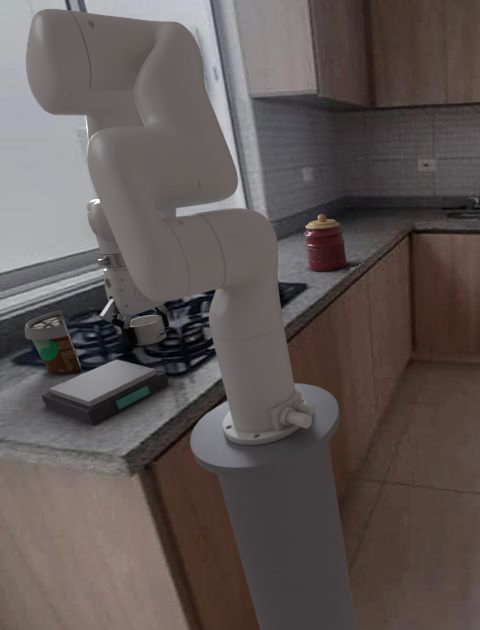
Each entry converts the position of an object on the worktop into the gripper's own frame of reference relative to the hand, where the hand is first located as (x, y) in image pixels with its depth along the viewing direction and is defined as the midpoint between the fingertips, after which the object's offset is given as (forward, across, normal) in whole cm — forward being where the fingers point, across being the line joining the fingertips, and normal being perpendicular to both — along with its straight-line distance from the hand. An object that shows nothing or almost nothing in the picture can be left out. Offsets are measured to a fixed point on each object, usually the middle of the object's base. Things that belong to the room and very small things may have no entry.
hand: (148, 336), depth 98 cm
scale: (+1, -19, -17) cm, 26 cm away
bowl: (+1, 0, 0) cm, 1 cm away
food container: (+1, -16, +4) cm, 17 cm away
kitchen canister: (+1, +63, -2) cm, 63 cm away
